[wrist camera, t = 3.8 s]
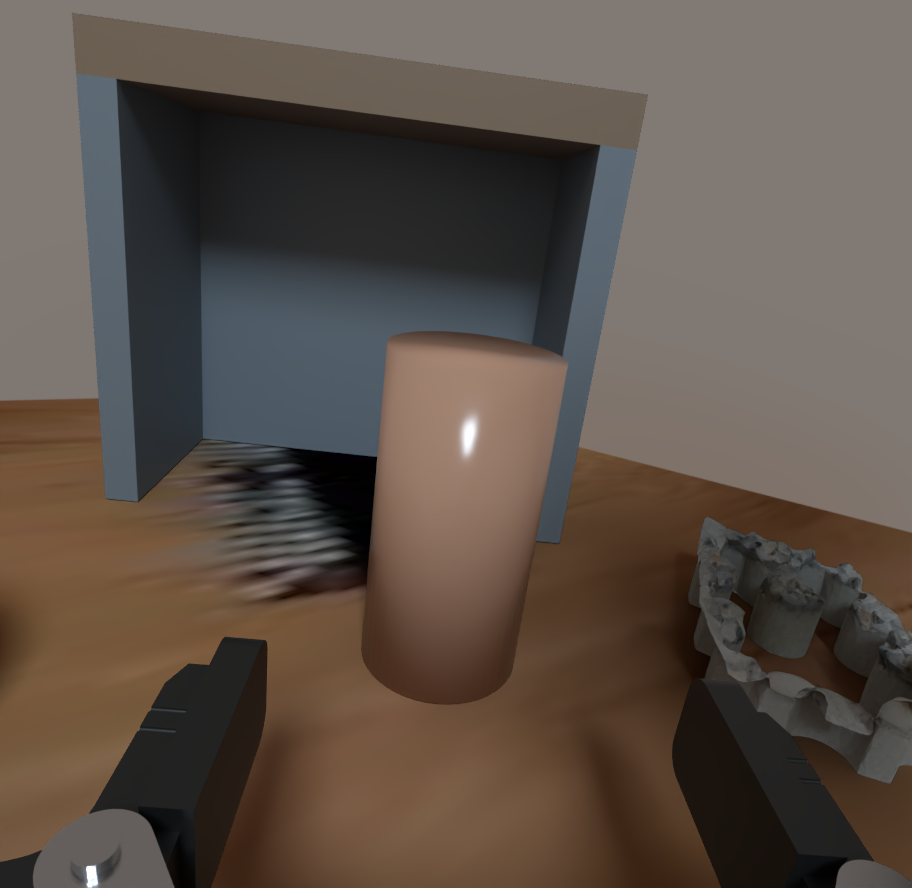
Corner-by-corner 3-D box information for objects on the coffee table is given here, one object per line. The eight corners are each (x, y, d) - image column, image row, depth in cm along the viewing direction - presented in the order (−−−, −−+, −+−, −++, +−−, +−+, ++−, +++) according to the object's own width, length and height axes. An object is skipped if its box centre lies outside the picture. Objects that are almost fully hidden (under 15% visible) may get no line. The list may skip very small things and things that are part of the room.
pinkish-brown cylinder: (506, 611, 26) (552, 342, 22) (521, 711, 21) (585, 384, 17) (369, 598, 26) (393, 324, 22) (351, 696, 21) (378, 360, 17)
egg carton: (937, 816, 20) (993, 708, 18) (679, 733, 21) (711, 629, 20) (854, 623, 29) (886, 542, 28) (681, 578, 31) (702, 500, 30)
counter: (532, 467, 42) (592, 124, 35) (559, 543, 32) (647, 94, 26) (183, 430, 40) (175, 66, 34) (105, 498, 31) (72, 12, 24)
